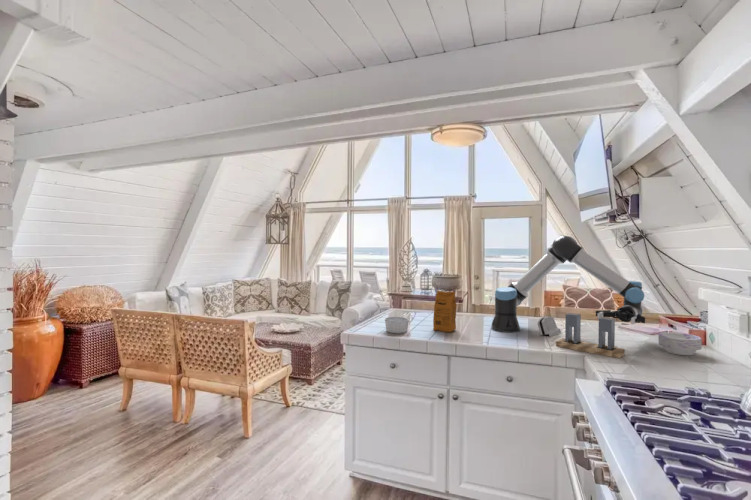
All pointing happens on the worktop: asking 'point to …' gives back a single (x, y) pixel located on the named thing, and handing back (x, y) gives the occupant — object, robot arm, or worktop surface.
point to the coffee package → (445, 312)
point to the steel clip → (604, 327)
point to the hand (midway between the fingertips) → (614, 318)
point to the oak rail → (591, 348)
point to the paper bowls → (680, 343)
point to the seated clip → (575, 322)
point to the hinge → (548, 326)
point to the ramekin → (396, 324)
